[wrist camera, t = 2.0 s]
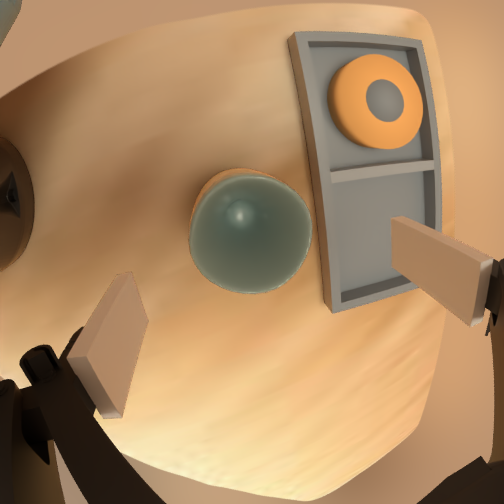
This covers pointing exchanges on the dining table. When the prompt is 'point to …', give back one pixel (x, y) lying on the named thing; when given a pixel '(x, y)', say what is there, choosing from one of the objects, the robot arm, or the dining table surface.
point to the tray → (364, 170)
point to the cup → (249, 231)
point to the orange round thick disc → (375, 102)
